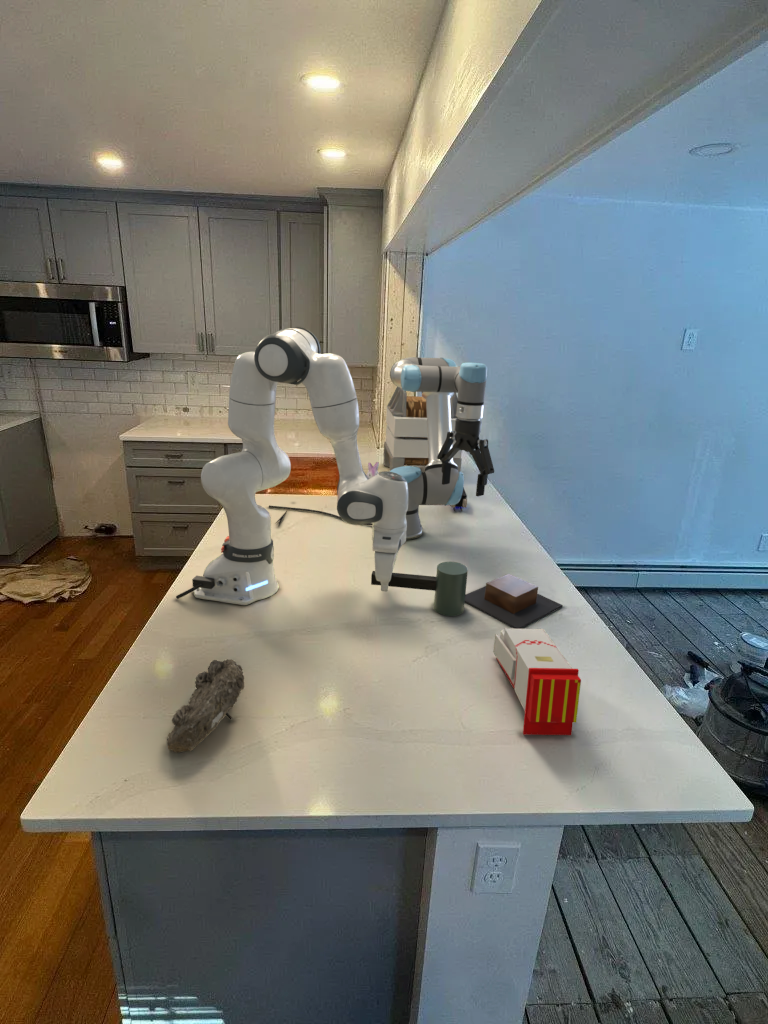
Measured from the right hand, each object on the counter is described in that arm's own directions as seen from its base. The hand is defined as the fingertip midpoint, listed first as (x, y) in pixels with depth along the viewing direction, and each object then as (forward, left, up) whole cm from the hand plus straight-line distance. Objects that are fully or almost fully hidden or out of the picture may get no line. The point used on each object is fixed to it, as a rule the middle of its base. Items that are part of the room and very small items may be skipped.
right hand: (462, 489), depth 169 cm
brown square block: (+26, -6, -24) cm, 36 cm away
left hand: (+5, -33, -19) cm, 39 cm away
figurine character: (-37, +41, -25) cm, 60 cm away
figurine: (-65, +21, -25) cm, 73 cm away
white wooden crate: (-82, +64, -25) cm, 106 cm away
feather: (-68, -20, -25) cm, 75 cm away
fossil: (+20, -90, -25) cm, 95 cm away
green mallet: (+12, -28, -25) cm, 39 cm away
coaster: (+26, -6, -25) cm, 36 cm away
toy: (+52, -34, -25) cm, 67 cm away
